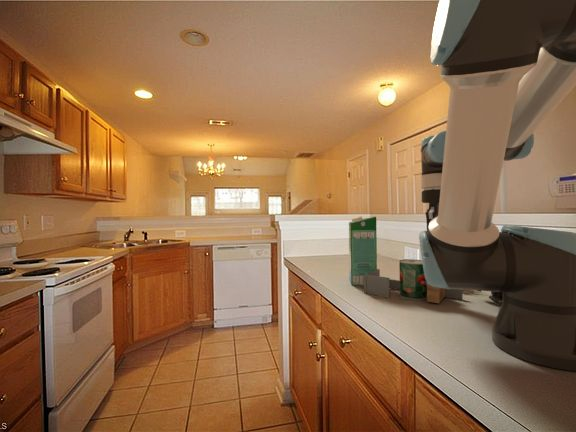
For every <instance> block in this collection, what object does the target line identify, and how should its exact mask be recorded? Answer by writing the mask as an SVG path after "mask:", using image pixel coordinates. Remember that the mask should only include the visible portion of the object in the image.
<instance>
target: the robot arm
mask: <svg viewBox="0 0 576 432" xmlns="http://www.w3.org/2000/svg"><path fill="white" fill-rule="evenodd" d="M430 48H431V49H430V55H429V56H430V62H431V64H432V65H434V66H436V67H438V66H440V75H439V76H440V78H441V79H442V80H443V81H444V82H445V83H446V84H447V85H448V87H449V96H448V97H449V98H448V107H447V119H446V130H443V131H440V132H438V133H437V134H435V135H429V136H427V137H425V138H423V139H422V140H421V145H420V146H421V147H420V154H421V156H420V157H421V158H420V159H421V178H420V179H421V181H420V184H421V186H420V187H421V189H422V191H421V203H423V204H428V209H426V212H425V218H426V220H425V221H426V230H423V231H420V232H419V234H418V235H419V236H418V239H419V248H420V255H421V256H420V257H421V260H422V264H423V270H424V275H425V279H426V282H427V283H428V284H429V285H431V286H433V287H439V288H446V289H449V290H451V289H463V291H464V290H466V291H467V290H468V291H477V290H479V291H478V292H491V291H494V292H503V302H502V305H500V309H499V311H498V313H497V314H496V317H495V320H494V323H493V325H492V328H491V341H492V342H493V344H494V345H495V346H497V348H499V349H501V350H502V351H503V352H506V353H507V354H510V355H512V356H514V357H517V358H518V359H521V360H524V361H527V362H530V363H533V364H535V365H540V366H544V367H547V368H552V369H558V370H563V371H571V372H576V232H573V231H565V230H557V229H550V228H549V229H547V228H538V227H528V226H521V225H520V226H519V225H512V224H511V225H510V224H504V225H502V227H501V228H500V230H499V228H498V226H497V225H495V224H494V222H493V216H494V210H495V205H496V201H497V197H498V196H497V195H498V191H499V185H500V180H501V175H502V170H503V166H504V161H505V162H506V161H507V162H509V161H513V160H522V159H525V158H527V157H528V156H529V155H530V154H531V151H532V149H533V147H534V143H535V137H534V132H535V131H536V130H537V129H538V128H539V127H540V126H541V125H542V123H543V122H544V121H545V120H546V119H547V118H548V117H549V116H550V115H551V113H552V112H554V110H555V109H556V108H557V107H558V106H559V105H560V104H561V102H562V101H563V100H564V99H565V98H566V97H567V96H568V95H569V93H571V91H572V90H573V89H574V88H575V87H576V0H439V2H438V5H437V10H436V14H435V20H434V24H433V29H432V36H431V44H430Z"/></svg>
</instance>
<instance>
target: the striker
mask: <svg viewBox="0 0 576 432" xmlns="http://www.w3.org/2000/svg"><path fill="white" fill-rule="evenodd" d="M444 298H446V297H445V288H439V287H433V286H431V285H429V284H428V283H427V299H426V301H427V302H429V303H435V304H440V303H441V302H442V300H443V299H444Z"/></svg>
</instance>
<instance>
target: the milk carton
mask: <svg viewBox="0 0 576 432" xmlns="http://www.w3.org/2000/svg"><path fill="white" fill-rule="evenodd" d="M377 250H378V249H377V217H376V216H373V215H371V216H369V217H364V218H363V216H357V217H353V218H351V221H349V222H348V252H349V253H348V262H349V263H348V265H349V266H348V267H349V269H348V271H349V272H348V275H349V276H348V277H349V282H350V284H351V286H364V275H365V274H367V273H370V272H372V271H374V270H377V269H378V268H377V267H378V263H377V262H378V256H377V252H378V251H377Z"/></svg>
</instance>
